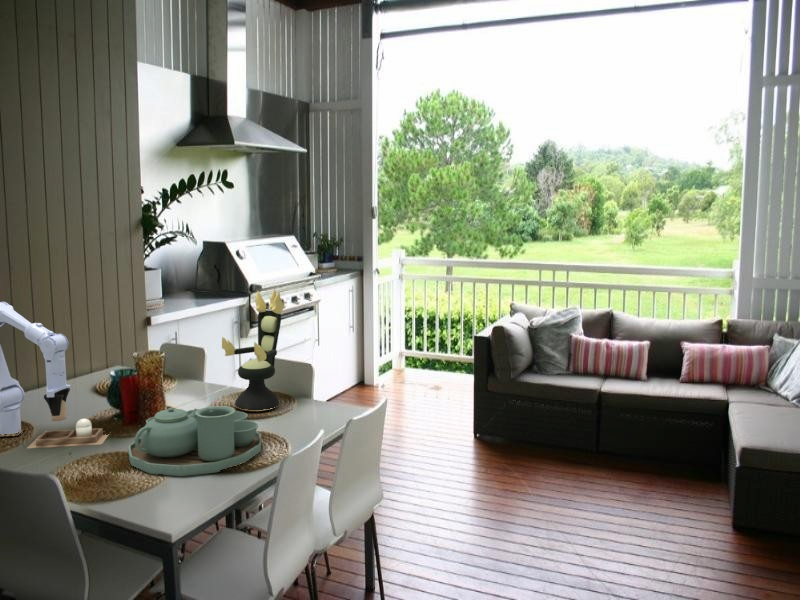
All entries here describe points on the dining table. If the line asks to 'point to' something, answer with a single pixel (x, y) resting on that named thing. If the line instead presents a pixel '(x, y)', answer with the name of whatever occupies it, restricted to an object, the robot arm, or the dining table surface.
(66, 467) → the dining table surface
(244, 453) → the tea set
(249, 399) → the toy throne chair
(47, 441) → the wooden divided tray
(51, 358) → the robot arm
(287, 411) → the dining table surface
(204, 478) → the dining table surface
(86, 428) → the cream egg
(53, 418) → the brown egg
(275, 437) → the dining table surface
